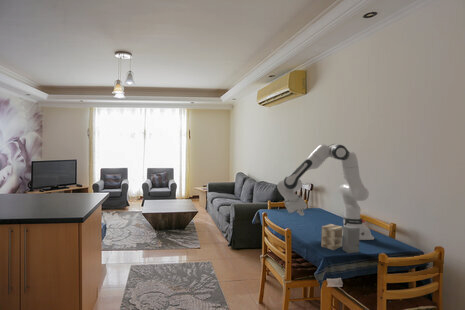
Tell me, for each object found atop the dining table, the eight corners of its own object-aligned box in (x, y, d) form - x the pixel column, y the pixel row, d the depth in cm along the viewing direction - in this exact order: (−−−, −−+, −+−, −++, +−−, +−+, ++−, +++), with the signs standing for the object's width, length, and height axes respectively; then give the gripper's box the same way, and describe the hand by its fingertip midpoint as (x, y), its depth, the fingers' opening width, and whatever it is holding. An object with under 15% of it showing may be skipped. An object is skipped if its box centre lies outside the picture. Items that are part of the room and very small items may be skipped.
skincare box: (348, 253, 191) (348, 228, 190) (341, 249, 198) (342, 225, 197) (359, 252, 193) (360, 228, 192) (352, 248, 200) (353, 225, 199)
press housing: (321, 246, 203) (321, 226, 202) (329, 243, 210) (330, 223, 210) (333, 250, 196) (334, 229, 196) (341, 246, 204) (342, 226, 203)
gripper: (285, 198, 218) (296, 214, 212) (302, 195, 232) (313, 210, 225) (280, 204, 222) (291, 219, 215) (297, 200, 236) (308, 215, 229)
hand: (302, 214), depth 220 cm, fingers closed
